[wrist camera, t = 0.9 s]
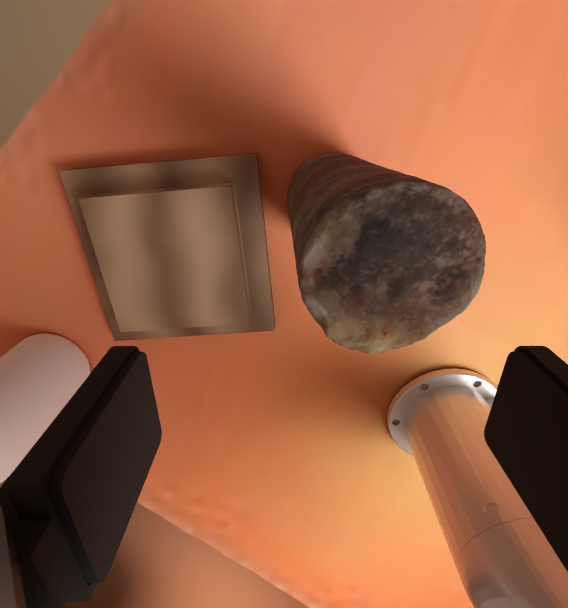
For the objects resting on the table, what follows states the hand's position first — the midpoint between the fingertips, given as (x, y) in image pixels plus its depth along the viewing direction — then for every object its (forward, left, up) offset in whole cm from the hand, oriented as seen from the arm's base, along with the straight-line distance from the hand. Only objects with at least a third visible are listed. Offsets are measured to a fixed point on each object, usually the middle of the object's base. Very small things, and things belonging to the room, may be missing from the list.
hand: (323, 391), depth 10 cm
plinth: (+11, +3, -25) cm, 27 cm away
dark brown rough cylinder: (-3, -1, -25) cm, 25 cm away
